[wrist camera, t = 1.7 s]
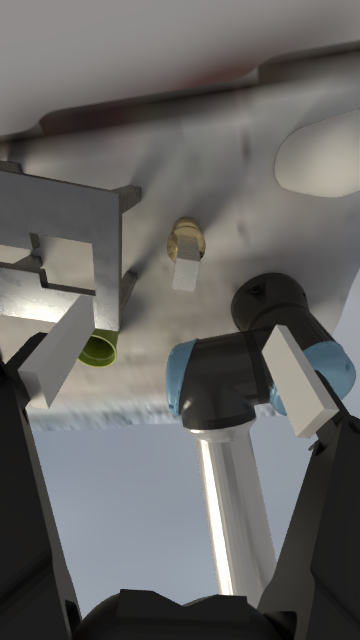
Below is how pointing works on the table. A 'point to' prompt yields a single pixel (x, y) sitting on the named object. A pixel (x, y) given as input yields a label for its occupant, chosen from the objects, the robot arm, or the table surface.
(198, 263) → the brass hanging weight
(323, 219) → the table surface
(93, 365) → the plant pot
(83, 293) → the shelf
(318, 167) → the milk bottle
